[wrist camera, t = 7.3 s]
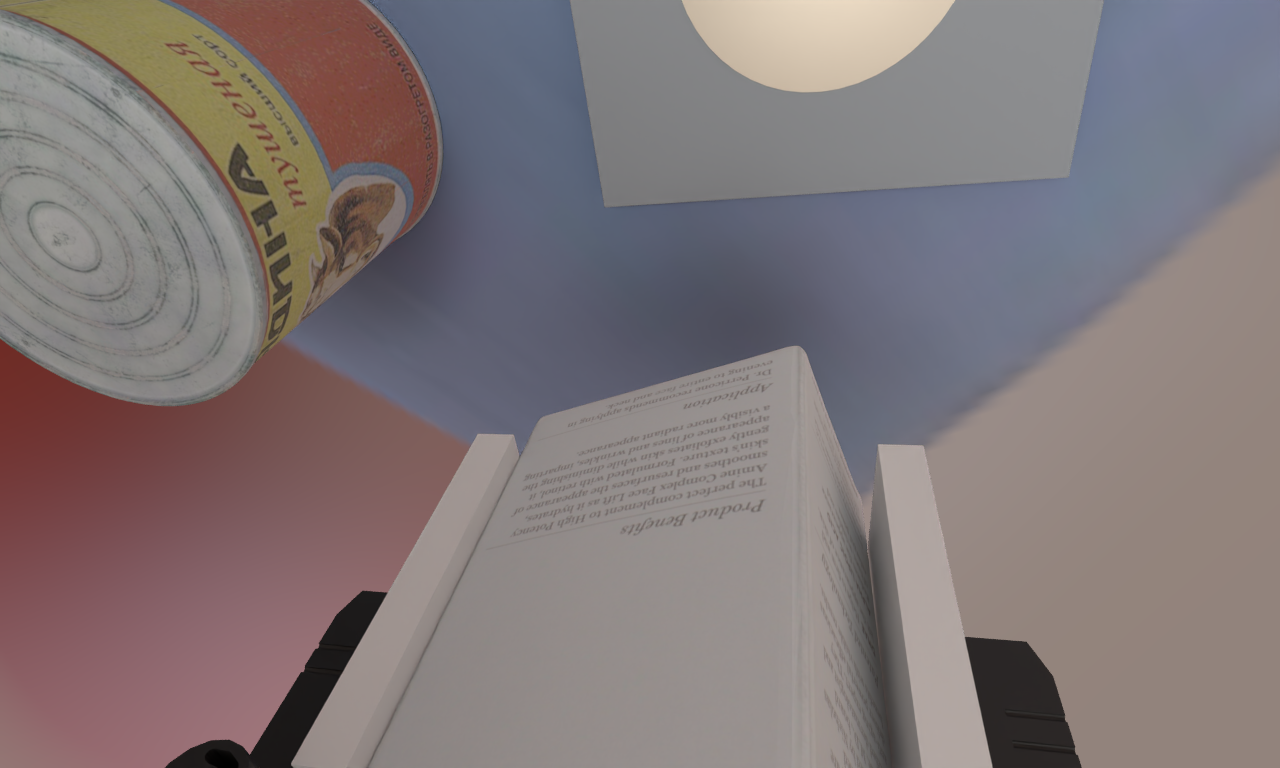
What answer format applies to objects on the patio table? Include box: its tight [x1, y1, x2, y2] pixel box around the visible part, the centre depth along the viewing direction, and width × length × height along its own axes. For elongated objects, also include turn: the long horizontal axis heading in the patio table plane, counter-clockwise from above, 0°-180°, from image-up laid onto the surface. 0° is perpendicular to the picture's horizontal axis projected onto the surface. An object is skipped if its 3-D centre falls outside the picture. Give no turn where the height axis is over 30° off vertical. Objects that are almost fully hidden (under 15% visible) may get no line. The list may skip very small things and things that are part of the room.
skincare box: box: [368, 346, 892, 768], centre depth 10 cm, size 6×4×12 cm
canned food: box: [0, 0, 443, 406], centre depth 24 cm, size 11×11×12 cm
